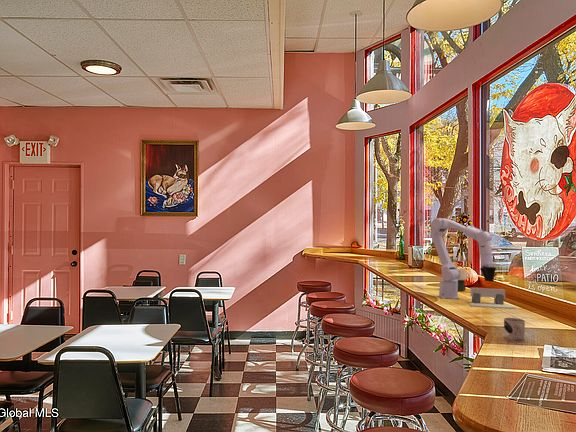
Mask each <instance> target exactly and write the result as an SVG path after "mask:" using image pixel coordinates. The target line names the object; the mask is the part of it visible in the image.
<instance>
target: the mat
mask: <svg viewBox="0 0 576 432" xmlns="http://www.w3.org/2000/svg"><path fill="white" fill-rule="evenodd" d="M468 305H469V307H471V308H472V307H473V308H475V307H476V308H492V309H493V308H495V309H509V310H516V307H515V306H514V305H511V304H504V305H500V304H495V303H481V302H480V303H473V302H468Z"/></svg>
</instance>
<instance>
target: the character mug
mask: <svg viewBox="0 0 576 432" xmlns="http://www.w3.org/2000/svg"><path fill="white" fill-rule="evenodd" d="M457 269H458V270H459V272H460V278H459V279H458V291H466V290H467V289H466V282H465V281H466V280H467V279H469V278H471V273H470V272H469V271H468V269H466V268H457Z"/></svg>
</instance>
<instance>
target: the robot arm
mask: <svg viewBox="0 0 576 432" xmlns="http://www.w3.org/2000/svg"><path fill="white" fill-rule="evenodd" d="M430 227H431V228H430V229H431V230H430V237H431V240H432V242H433V245H434V248H435V250H436V253H437V255H438V258H439V260H440V263H441V268H440V270H441V278H442V280H440V281H439V287H438V288H439V292H438V294H439V295H438V296H439V298H441V299H455V300H458V299H460V297H459V296H458V291H459V290H458V279H459V278H460V272H459V270H458V269H459V268H457V266H456V264H455V263H453V262H452V259H451V257H450V254H449V251H448V248H447V247H446V243H445V241H444V239H443V234H444V233H445V232H446V231H447V230H448V229H449V228H451V229H454V230H457V231H459V232H462V233H463V234H464V235H465V236H466V237H468V238H470V239H473V240H475V241H476V242H477V243H478V251H479V257H480V258H479V259H480V266H481V267H480V268H479V270H480V271H481V273H482V275H483V277H484V278H483V279H484V281H485V282H490V283H491V282H494V281H495V272H496V269H497V267H496V266H495V267H494V265H496V263H497V262H494V260H493V252H492V251H493V250H492V246H491V240H492V234H491V233H490V232H488V231H485V230H484V231H483V229H481V228H480V229H479V228H477V227H475V226H474V225H468V226H465V225H464V224H461V223H459V222H457V221H455V220H453V219H449V218H445V217H444V218H442V217H441V218H440V217H439V218H438V217H435V218H434V219H432V221H431V222H430Z"/></svg>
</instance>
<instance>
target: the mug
mask: <svg viewBox="0 0 576 432" xmlns="http://www.w3.org/2000/svg"><path fill="white" fill-rule="evenodd" d="M503 322H504V323H503V338H504V339H506V340H510V341H518V342H519V341H520V342H522V341H525V331H526V329H525V327H526V326H525V325H526V324H525V323H526V321H525V320H524V319H522V318H517V317H505V318H503Z"/></svg>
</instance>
